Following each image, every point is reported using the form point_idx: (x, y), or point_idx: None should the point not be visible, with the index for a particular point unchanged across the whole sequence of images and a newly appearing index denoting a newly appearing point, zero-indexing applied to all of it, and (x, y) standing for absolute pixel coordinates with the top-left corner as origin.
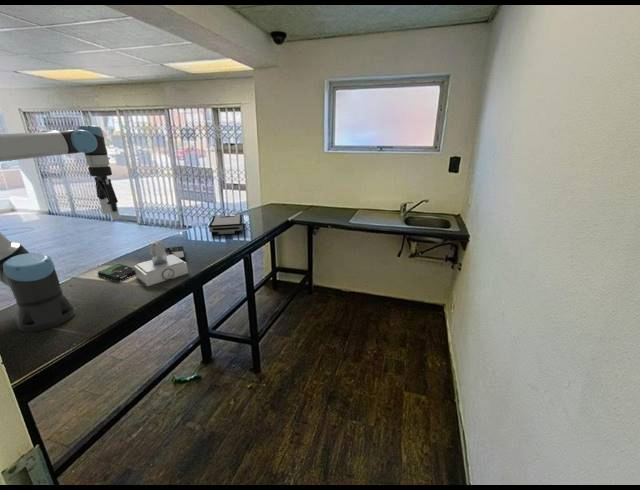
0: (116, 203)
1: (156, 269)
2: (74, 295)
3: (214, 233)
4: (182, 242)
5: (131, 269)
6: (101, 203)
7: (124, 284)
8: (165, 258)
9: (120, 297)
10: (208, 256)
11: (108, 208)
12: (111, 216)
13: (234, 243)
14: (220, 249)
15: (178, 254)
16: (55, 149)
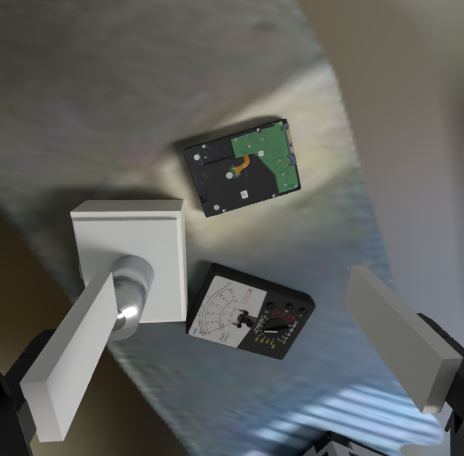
0: (42, 438)
1: (79, 248)
2: (170, 14)
3: (322, 442)
4: (349, 367)
5: (219, 203)
6: (408, 330)
7: (148, 157)
8: None
9: (55, 119)
10: (185, 374)
11: (365, 327)
12: (100, 284)
13: (226, 443)
14: (211, 409)
15: (219, 331)
16: None
